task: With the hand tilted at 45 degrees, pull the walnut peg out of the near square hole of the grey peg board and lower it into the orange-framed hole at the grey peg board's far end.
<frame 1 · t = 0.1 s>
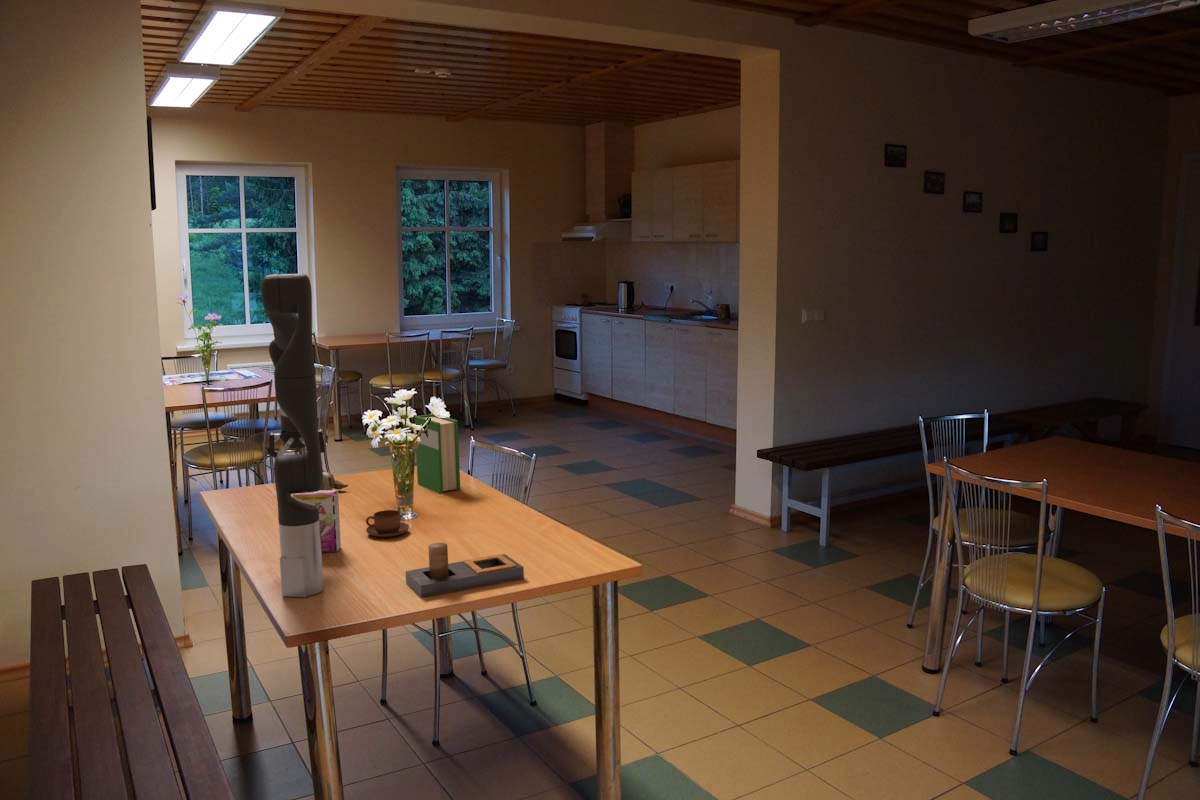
hand: (298, 468, 262), 22 cm above the table, fingers open, 8 cm apart
walnut peg: (439, 585, 234), resting in grey peg board
cup and saucer: (388, 534, 278), on the table
candy bar box: (319, 551, 263), on the table
grey peg board: (465, 580, 237), on the table
ceramic sculpture: (322, 493, 328), on the table
hardback book: (438, 487, 332), on the table
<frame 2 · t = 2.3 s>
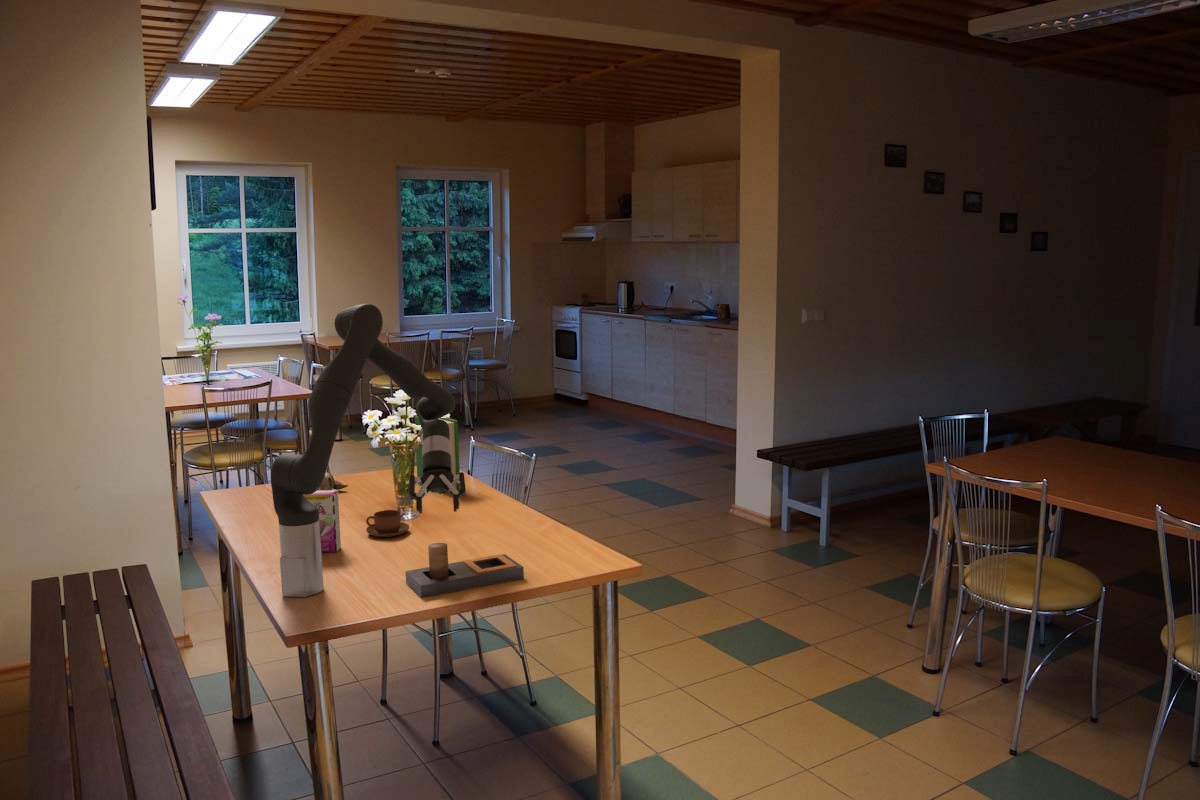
hand: (438, 511, 243), 15 cm above the table, fingers open, 8 cm apart
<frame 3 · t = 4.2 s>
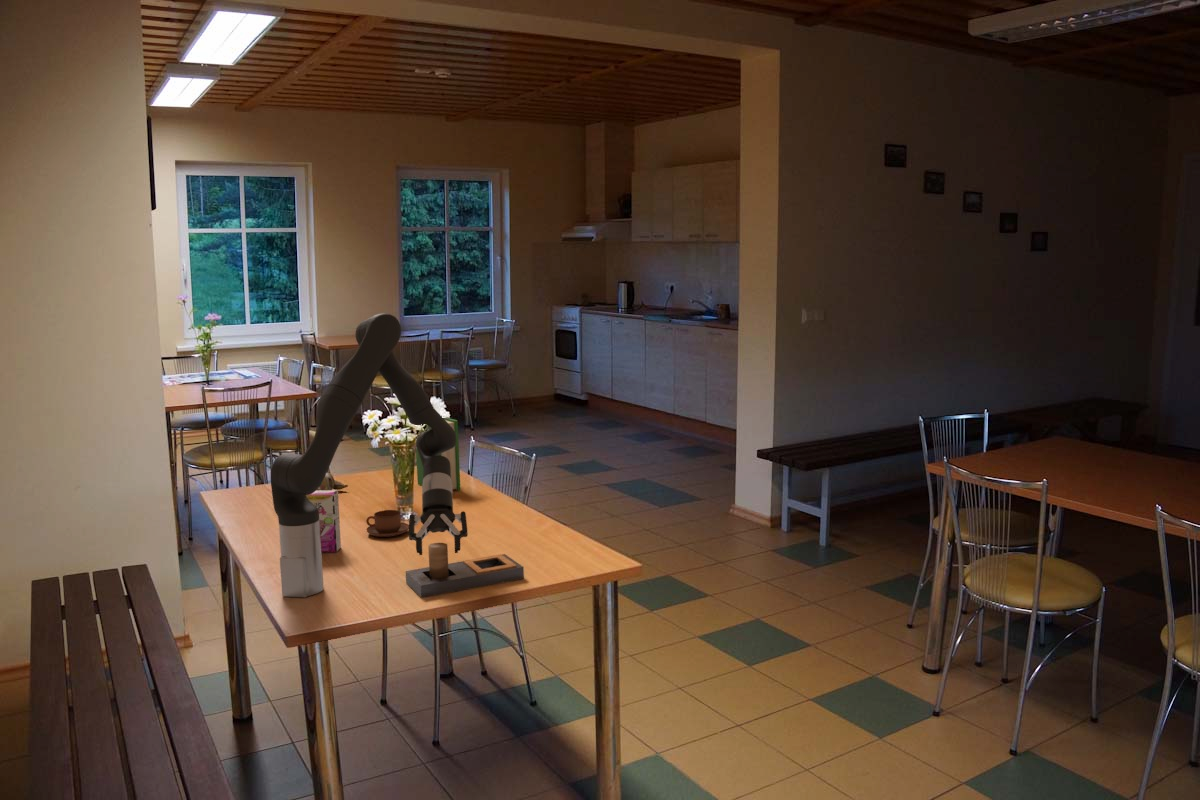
hand: (438, 552, 234), 8 cm above the table, fingers open, 8 cm apart
nothing on the table moved.
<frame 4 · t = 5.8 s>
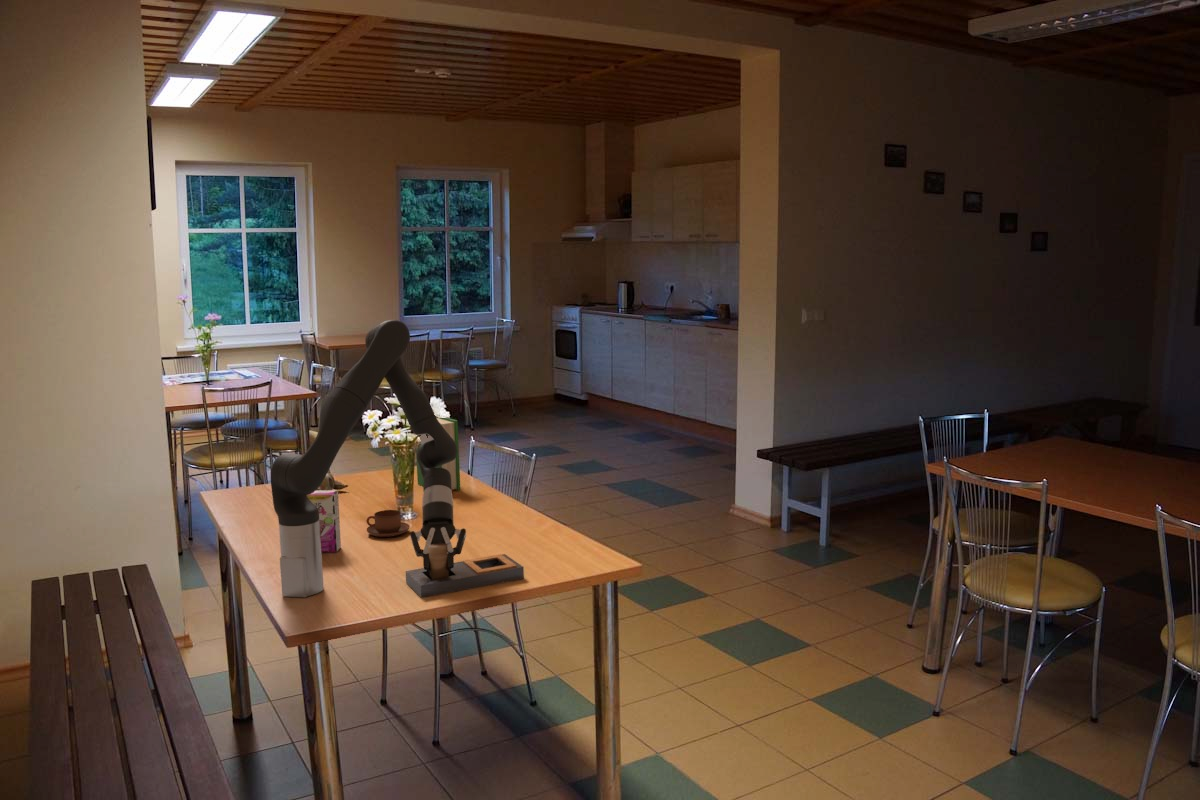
hand: (438, 569, 231), 5 cm above the table, fingers closed on walnut peg, 4 cm apart
walnut peg: (439, 585, 234), resting in grey peg board, touching gripper
everything else where it was.
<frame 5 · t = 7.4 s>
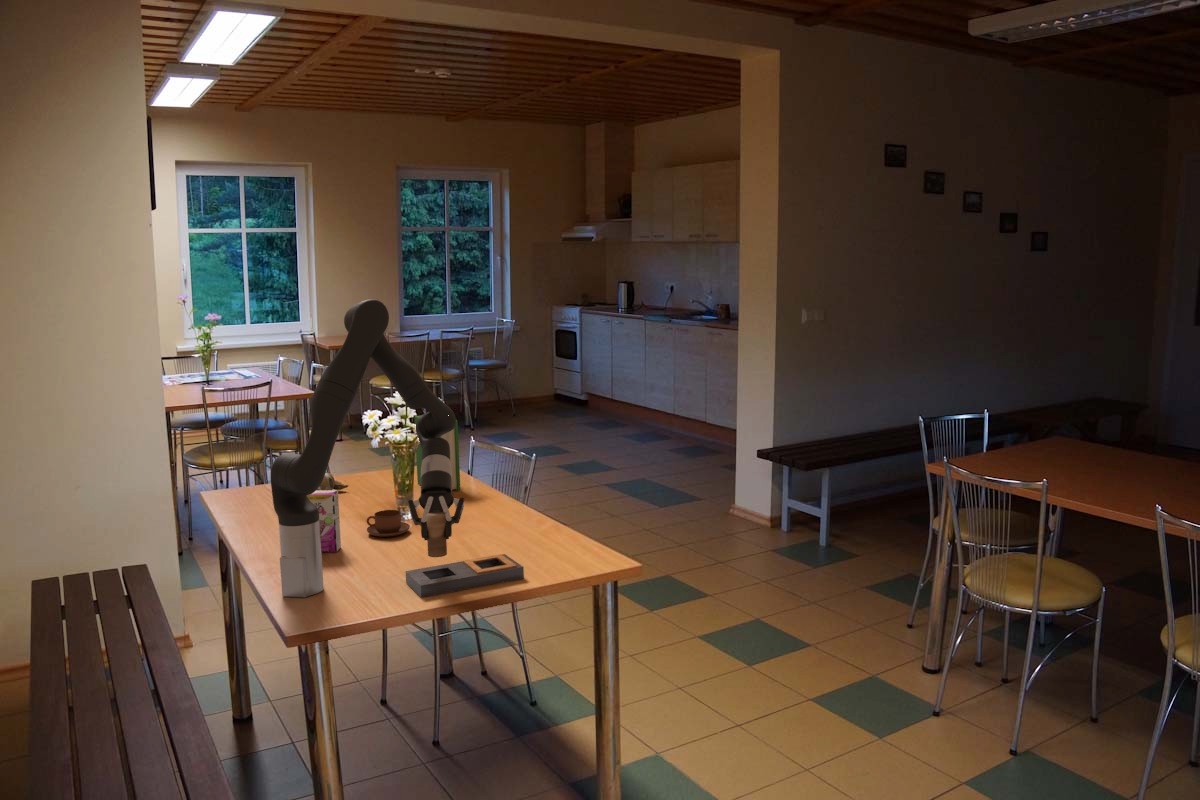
hand: (436, 537, 230), 12 cm above the table, fingers closed on walnut peg, 4 cm apart
walnut peg: (437, 554, 232), point 8 cm above the table, touching gripper
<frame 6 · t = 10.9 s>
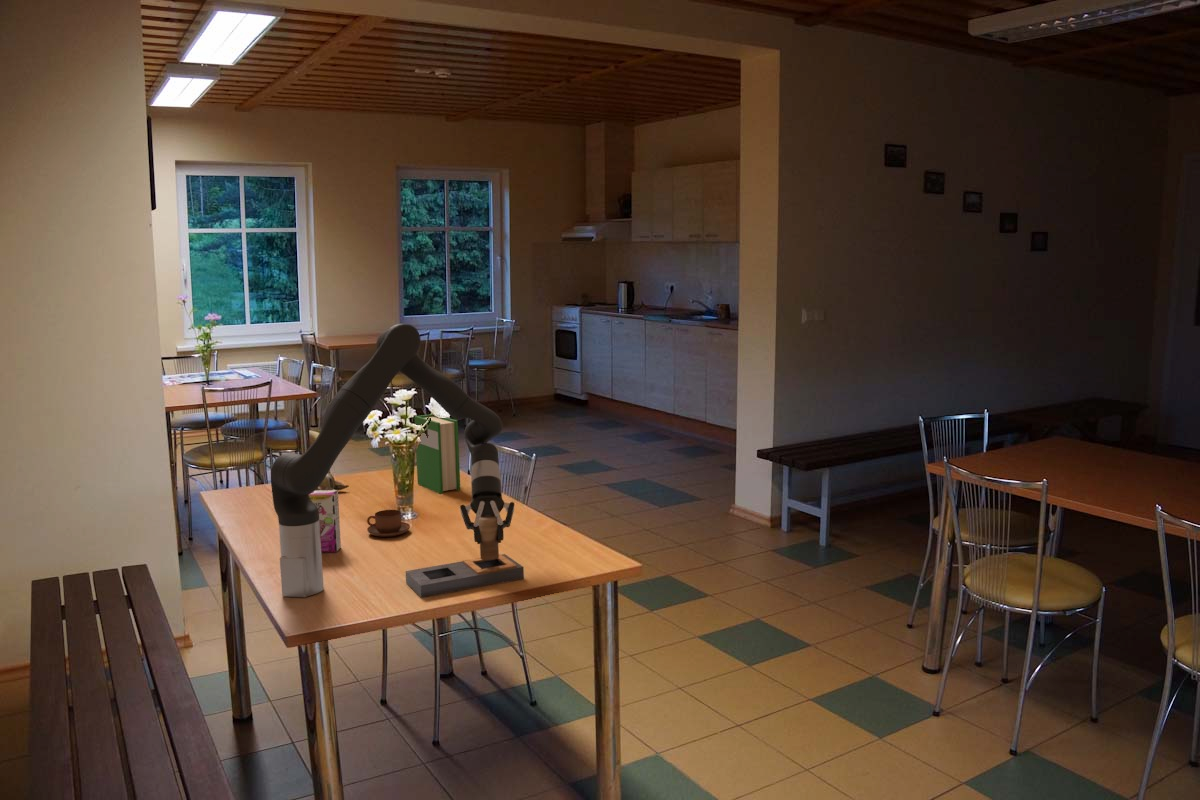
hand: (489, 541, 237), 9 cm above the table, fingers closed on walnut peg, 4 cm apart
walnut peg: (489, 557, 239), point 5 cm above the table, touching gripper
when the fingers open (6 cm above the table, at t = 12.2 s): walnut peg drops 1 cm, resting in grey peg board.
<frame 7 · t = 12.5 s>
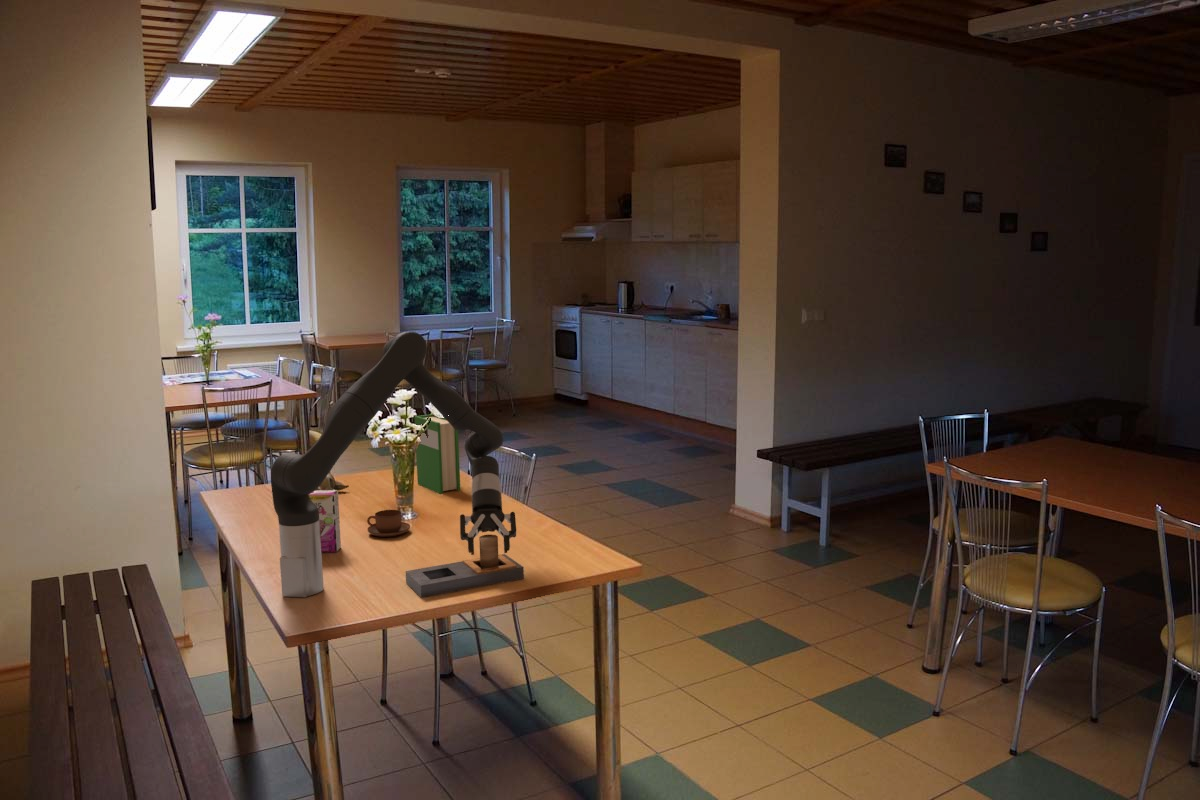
hand: (489, 552, 237), 7 cm above the table, fingers open, 7 cm apart
walnut peg: (489, 576, 240), resting in grey peg board
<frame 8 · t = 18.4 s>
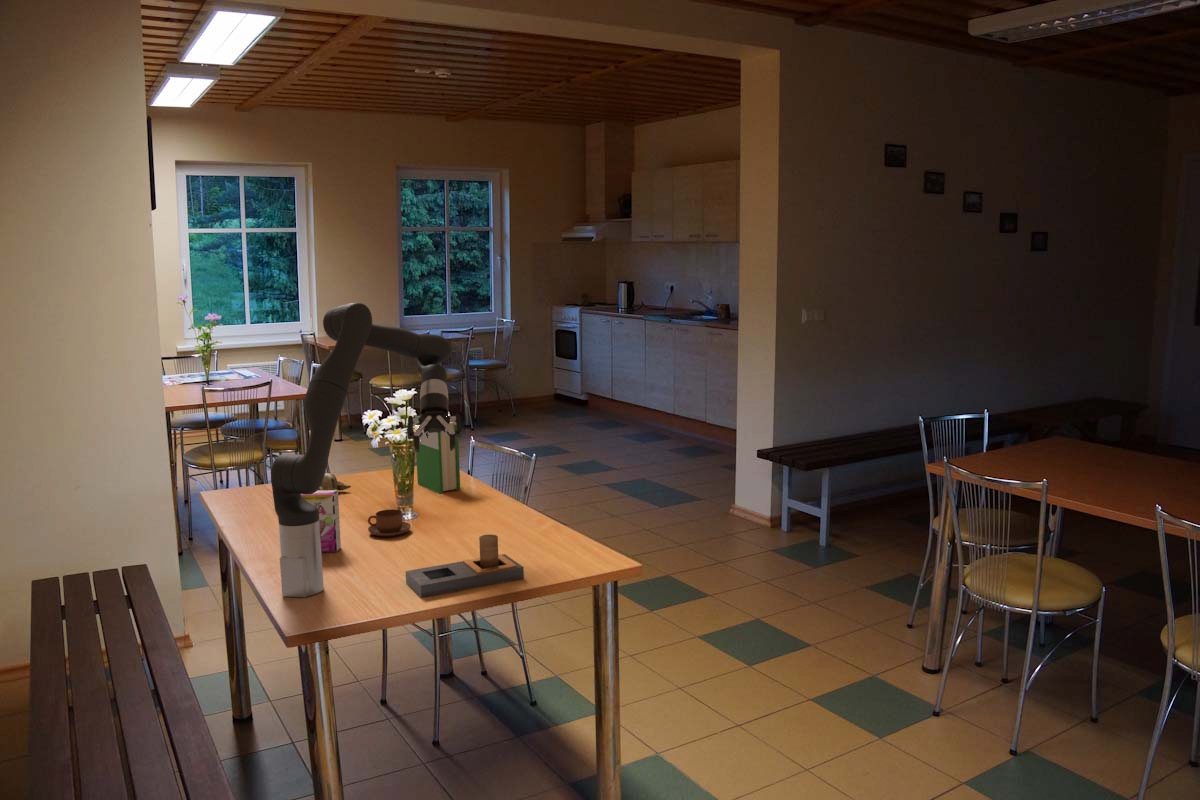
hand: (434, 449, 252), 29 cm above the table, fingers open, 8 cm apart
at the end: walnut peg 0.1 cm from the target spot on the grey peg board, point 0.0 cm above the grey peg board's base; walnut peg tilted 0°; the gripper is holding nothing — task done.
